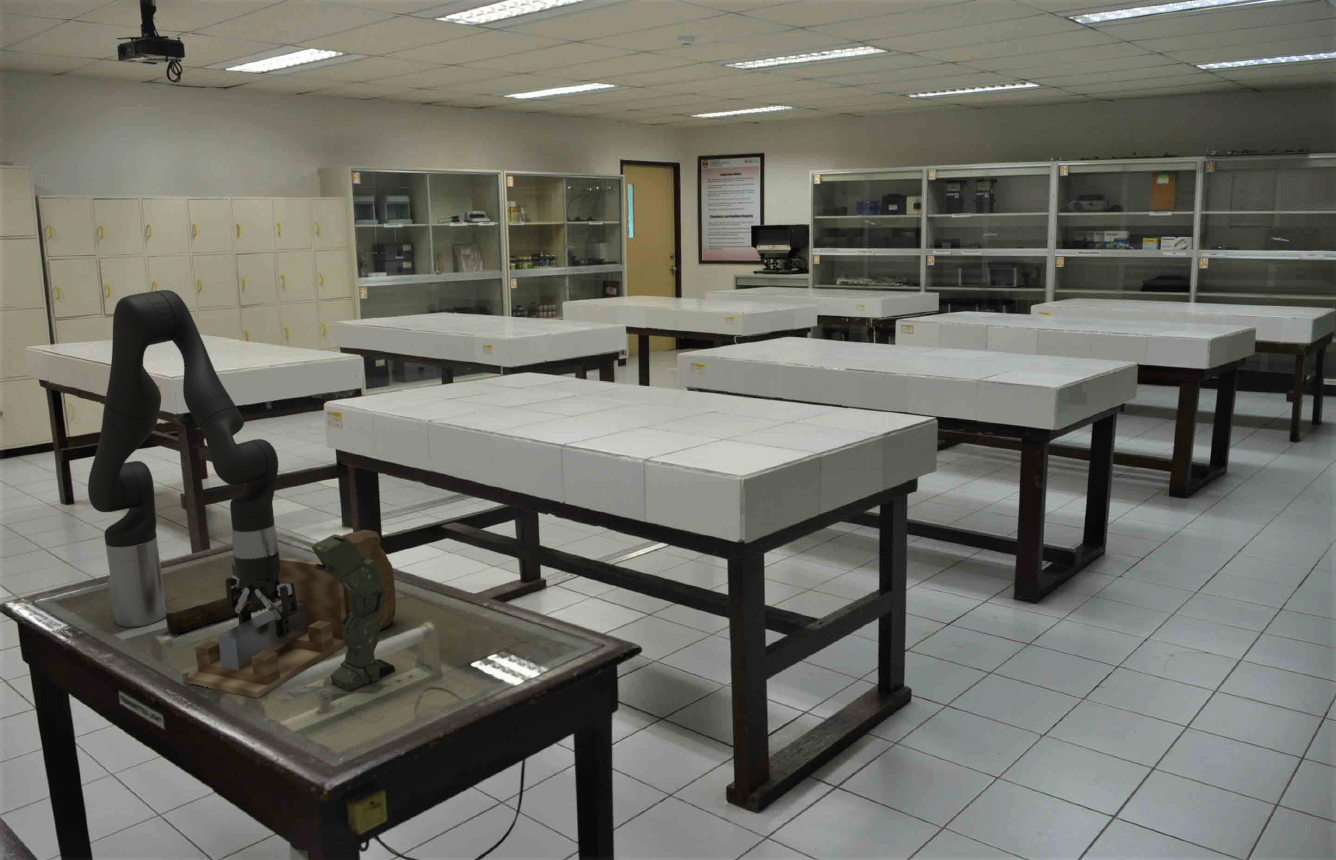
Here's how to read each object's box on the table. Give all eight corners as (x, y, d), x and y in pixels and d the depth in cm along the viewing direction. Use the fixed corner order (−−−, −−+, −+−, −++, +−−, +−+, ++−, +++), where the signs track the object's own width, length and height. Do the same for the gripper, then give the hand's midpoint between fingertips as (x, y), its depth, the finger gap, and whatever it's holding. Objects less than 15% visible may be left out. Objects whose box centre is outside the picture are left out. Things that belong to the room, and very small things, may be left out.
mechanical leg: (392, 651, 182) (348, 518, 171) (414, 661, 178) (371, 525, 167) (333, 692, 173) (282, 554, 162) (355, 703, 169) (304, 563, 158)
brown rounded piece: (351, 641, 189) (343, 544, 184) (334, 630, 194) (325, 535, 190) (402, 625, 196) (395, 531, 192) (383, 615, 201) (376, 523, 197)
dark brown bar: (174, 639, 191) (171, 613, 190) (166, 632, 194) (162, 606, 193) (286, 607, 207) (284, 582, 206) (276, 601, 210) (274, 577, 209)
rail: (221, 667, 172) (217, 635, 170) (290, 630, 187) (287, 600, 186) (239, 670, 170) (235, 638, 169) (306, 632, 186) (303, 603, 184)
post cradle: (187, 683, 172) (176, 599, 169) (283, 632, 193) (275, 556, 190) (257, 698, 166) (248, 611, 163) (348, 643, 188) (341, 565, 184)
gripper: (209, 552, 174) (219, 636, 177) (271, 561, 169) (280, 647, 172) (241, 539, 180) (250, 620, 184) (302, 547, 175) (310, 631, 179)
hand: (265, 633), depth 178 cm, fingers open, 8 cm apart
